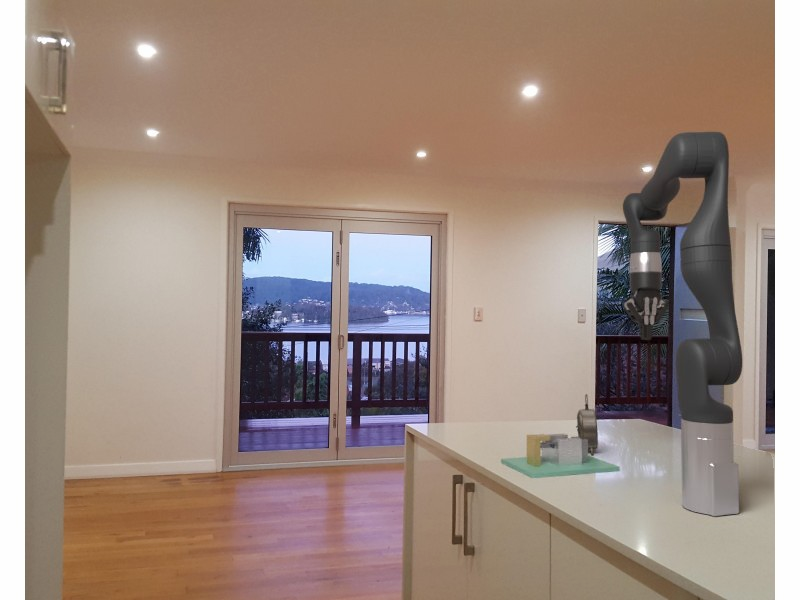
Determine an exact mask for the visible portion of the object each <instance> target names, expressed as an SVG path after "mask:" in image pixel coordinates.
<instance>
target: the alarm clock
mask: <svg viewBox="0 0 800 600" xmlns="http://www.w3.org/2000/svg"><path fill="white" fill-rule="evenodd" d="M584 397H585V399H584V402H585V404H584V407H585V408H583V409H582V408H581V409H579V410H578V411H577V415H576V419H577V422H576V423H577V425H576V426H575V428H577V436H578V437H580V439H588V450H590V455H591V456H593V455H594V450H597V449H598V446H599V438H598V437H599V432H598V421H597V416H596V415H597V414H596V411H595V409H594V408H590V407H589V396H588V394H587V393H586V394H585V396H584Z"/></svg>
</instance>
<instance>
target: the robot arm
mask: <svg viewBox="0 0 800 600" xmlns="http://www.w3.org/2000/svg"><path fill="white" fill-rule="evenodd" d="M729 167H730V152H729V144H728V139H727V138H726V136H725V134H724V133H723V132H721V131H693V132H692V131H690V132H680V133H677V134H675V135H674V136H672V137H671V139H670V140H669V141H668V143H667V144H666V147H665V148H664V150H663V152H662V155H661V158H660V160H659V162H658V164H657V165H656V169H655V170H654V174H653V175H652V177H651V178H650V179H648V181H647V183H646V184H645V185H644V186H643V188H642V189H641V191H640V192H632V193H629V194H627V195H626V197H625V198H624V200H623V203H622V212H623V215H624V218H625V222H626V224H627V228H628V233H629V238H630V259H629V289H630V290H631V293H630V295H629V299H628V300H627V301H626V302H622V304H621V305H622V307H623V309H624V310H625V312H626V313H627V315H628V316H629V318H630V319H631V321H632V322H633V323H637V324H638V327H639V337H640V340H643V341H644V340H645V341H650V340H652V338H653V336H654V335H653V333H654V332H653V330H654V328H653V326H654V324H656V323H660V322H661V319H663V316H664V315H665V314H666V312H667V310H668V309H669V307H670V304H669V302H665V301H664V300H662V296H663V295H662V294H661V289H662V288H663V284H662V283H663V282H662V279H663V277H662V276H663V275H662V271H663V270H662V265H663V264H662V257H661V233H660V232H659V231H658V230H656V229H652V228H648V227H645V226H643V224H642V222H644V221H645V222H646V221H648V222H649V221H650V222H651V221H652V222H654V221H660V220H662V219H664V218H665V217H666V215H667V212H668V208H669V207H668V206H669V204H670V203H671V202H672V201H673V200H675V198H676V196H677V195H678V193H679V191H680V189H681V181H680V179H704V193H703V199H702V201H701V203H700V205H699V207H698V209H697V211H696V213H695V214H694V216H693V218H692V219H691V221H690V222H689V224H688V226H687V227H686V229H685V231H684V233H683V235H682V236H681V239H680V243H679V251H680V253H679V254H680V257H679V258H680V272H681V276H682V278H683V280H684V282H685V284H686V286H687V287H688V289H689V290H690V292H691V294H692V295H693V296H694V297H695V299H696V301H697V302H698V303H699V305H700V306H701V308H702V310H703V312H704V314H705V317H706V320H707V326H708V332H709V333H708V334H709V338H687V339H684V340H682V341H681V342H680V343H679V345H678V347H677V351H676V355H675V373H676V388H677V401H678V402H677V403H678V406H679V409H680V417H681V418H680V425H681V427H680V429H681V431H680V432H681V434H680V435H681V436H680V437H681V438H680V439H681V440H680V441H681V443H680V447H681V451H680V452H681V454H680V455H681V458H680V459H681V461H680V462H681V506H682V508H685V509H686V510H688V511H692V512H696V513H700V514H705V515H709V516H712V517H718V516H727V515H734V514H737V515H738V514H739V513H740V506H739V505H740V504H739V503H740V501H739V500H740V499H739V495H740V494H739V464H738V463H737V462H735V461H734V460H735V459H734V457H735V456H734V410H733V409H732V407H731V406H729V405H728V404H724V403H721V402H719V401H718V400H716V399H714V398H713V397H712V396H711V394H710V388H709V386H729V385H733V384H736V383H737V382H738V381H739V379H740V377H741V375H742V370H743V353H742V345H741V340H740V339H741V338H740V337H741V336H740V334H739V333H740V332H739V328H738V321H737V315H736V308H735V307H736V306H735V298H734V296H735V295H734V283H733V258H732V243H731V233H730V223H729V221H730V219H729V172H730V171H729V170H730V169H729ZM641 221H642V222H641Z"/></svg>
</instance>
